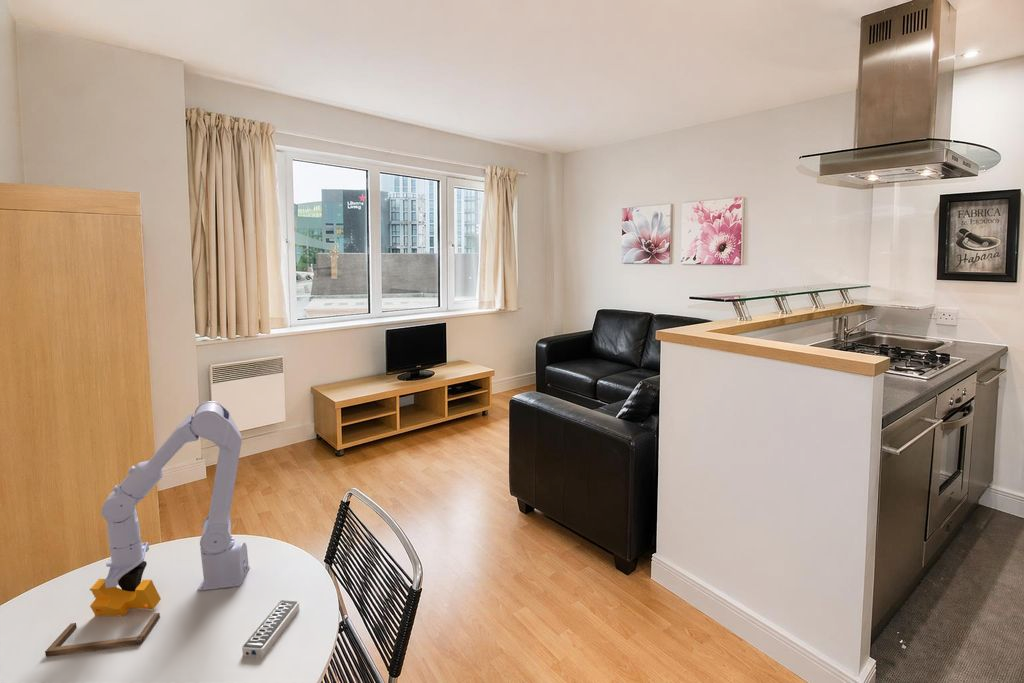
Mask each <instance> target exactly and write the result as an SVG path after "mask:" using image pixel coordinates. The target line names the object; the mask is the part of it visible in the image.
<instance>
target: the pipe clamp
mask: <svg viewBox="0 0 1024 683" xmlns="http://www.w3.org/2000/svg"><path fill="white" fill-rule="evenodd" d="M105 579H106V578H98V579H97V581H96V582H95V583H94V584H93V585H92V586H91V587H90V589H89V590H90V591H91V593H92V595H93V596H94V598H95V599H94V600H93V601H92V603H90V605H89V607H90V608H91V610H92V612H93V614H94V615H95V616H99V617H100V616H104V617H105V616H107V617H125V615H126V614H127V613H128V611H129V610H154V609H155V608H156V607H157V606H158V604H159V602H160V601H161V599H162V598H161V596H160V594H159V592H158V590H157V588H156V586H155V584H154V582H153V580H152V579H141V583H140V584H139V585H138V587H137V588H136V589H135V591H125V590H122V589H121V588H118V587H117V586H116V587H110V588H106V586H105Z"/></svg>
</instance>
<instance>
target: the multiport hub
mask: <svg viewBox="0 0 1024 683" xmlns="http://www.w3.org/2000/svg"><path fill="white" fill-rule="evenodd" d="M298 612H300V602H299V601H298V600H284V599H282V600H279V602H278V603H277V605H276V606H275V607H274V608H273V609H272V611H271V612H269V614H268V615H267V616H266V618H265V619H264V620H263V621H262V622H261V624H260V625H259V626H258V627H257V628H256V630H254V631H253V633H252V634H251V636H250V637H248V639H247V640H246V641H245V643H244V644H242V647H241V650H242V656H243V657H245V658H246V657H247V658H255V659H256V658H258V659H261V658H262V659H263V658H264V657H265V656H266V654H267V653H268V652H269V650H271V648H272V646H274V644H275V643H276V642H277V640H278V639H279V637H280V636H281V635H282V633H283V632H284V630H286V628H287V627H288V625H289V624H290V623H291V621H292V620H293V619H294V618H295V617H296V615H297V614H298Z"/></svg>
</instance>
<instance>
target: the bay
mask: <svg viewBox="0 0 1024 683" xmlns="http://www.w3.org/2000/svg"><path fill="white" fill-rule="evenodd" d="M160 618H161V613H160V612H154V613H153V615H152V616H151V617H150V619H149V620H148V622H147V623H146V624H145V626H144V627H143V629H142V630H141V631H140V633H139V634H138V635H137V636H129V637H122V638H115V639H105V640H97V641H90V642H89V641H88V642H84V643H75V644H69V645H66V644H65V645H63V644H64V643H65V642H66V641H67V640H68V639H69V637H70V636H71V635H72V634H73V633H75V630H77V623H76V622H73V623H70V624H69V625H67V627H66V628H65V629H64V630H63V631H62V632H61V633H60V635H58V637H57V638H56V639H55V640H54V641H53V642H52V643H51V645H50V646H49V647H48V648H47V649H45V651H44V653H45V658H47V657H48V658H49V657H53V656H56V657H57V656H62V655H63V656H64V655H70V654H77V653H78V654H80V653H86V652H93V651H100V650H101V651H102V650H108V649H116V648H124V647H132V646H138V645H143V643H144V642H145V640H146V639H147V637H148V636H149V635H150V633H151V632H152V630H153V629H154V627H155V626H156V624H157V623H158V622H159V619H160Z"/></svg>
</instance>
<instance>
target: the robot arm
mask: <svg viewBox="0 0 1024 683" xmlns="http://www.w3.org/2000/svg"><path fill="white" fill-rule="evenodd" d="M193 413H194V416H193ZM199 438H203V439H205V440H208V441H210V442H212V443H213V444H215V445H216V446H217V447H218V448H219V450H218V455H217V462H216V469H215V475H214V481H213V486H212V487H213V488H212V494H211V499H210V506H209V512H208V515H207V516H206V518H205V519H204V521H203V522H202V525H201V526H202V530H201V531H202V533H201V537H200V540H199V547H200V557H201V565H202V566H201V568H202V575H203V579H202V581H201V582H200V584H199V586H198V587H197V591H199V592H201V591H209V590H219V589H226V588H233V587H234V588H235V587H240V586H241V585H242V583H243V582H244V580H245V578H246V576H247V574H248V572H249V570H250V565H249V557H248V546H247V544H246V542H243V541H242V542H240V541H236V540H235V538H234V537H233V536H232V535H231V533H232V532H231V531H232V530H231V529H232V528H231V527H232V523H233V522H232V518H231V509H232V503H233V496H234V489H235V484H236V479H237V472H238V468H239V467H238V466H239V460H240V455H241V454H240V453H241V447H242V434H241V432H240V430H239V428H238V426H237V425H236V423H235V421H234V419H233V417H232V415H231V413H230V411H229V410H228V409H227V408H226V407H225V406H224V405H222V404H221V403H220V402H217V401H215V400H210V401H209V400H208V401H204V402H202V403H200V404H199V405H198V406H197V407H196V409H195V411H194V412H193V411H192V412H191V413H190V414H188V415H187V416H186V417H185V418H184V419H183V420H182V421H181V422H180V423H179V424H178V425H177V427H176V428H175V429H174V430H173V431H172V433H170V435H169V436H168V438H167V439H166V440H165V441H164V442H163V443H162V445H160V446H159V448H158V449H157V451H156V452H155V453H153V455H152V457H151V458H150V459H149V460H145V461H141V462H138V463H137V464H136V465H132V466H130V467H129V469H128V471H127V473H128V474H127V476H126V477H125V478H124V479H122V481H121V482H120V483H119V485H118V484H116V485H115V486H114V487H112V491H111V492H110V493H109V495H108V496H107V498H106V499H105V501H104V503H103V505H102V507H101V516H102V518H103V519H104V520H105V521H106V532H107V538H108V546H109V553H110V554H109V555H110V559H109V560H108V561H107V562H106V563H105V564H106V566H105V567H109V570H108V572H107V573H108V574H107V576H106V577H105V578H104V579H105V586H106V588H110V587H117V586H119V587H120V589H122V590H125V591H135V589H136V588H137V587H138V585H139V584H140V583H141V582H142V578H143V573H144V572H145V569H146V567H147V565H148V564H147V561H146V560H145V558H146V553H148V551H149V550H150V545H149V542H142V537H141V530H140V521H139V520H140V519H139V518H138V513H137V507H136V506H137V505H138V503H139V502H141V501H143V500H144V498H145V497H146V496H147V495H148V494H149V493H150V492H151V491H152V489H153V488H154V487H155V486H156V485H157V483H159V481H160V480H161V479H162V478H163V476H164V474H163V468H165V466H166V465H167V464H168V462H170V460H171V459H172V458H173V457H174V456H175V455H176V454H177V453H178V452H179V451H180V450H181V448H183V446H184V445H186V444H187V443H191V442H197V441H198V440H199Z"/></svg>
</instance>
